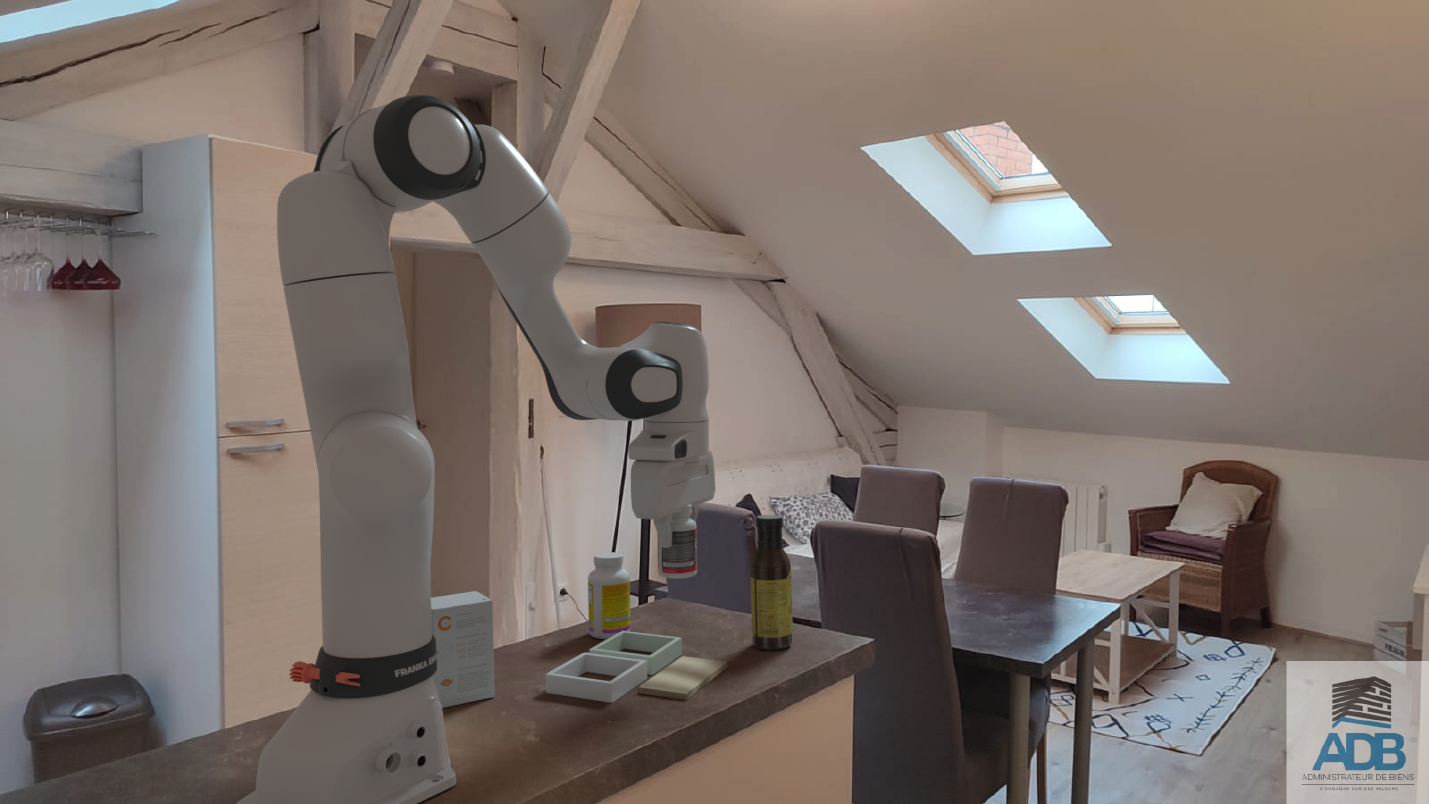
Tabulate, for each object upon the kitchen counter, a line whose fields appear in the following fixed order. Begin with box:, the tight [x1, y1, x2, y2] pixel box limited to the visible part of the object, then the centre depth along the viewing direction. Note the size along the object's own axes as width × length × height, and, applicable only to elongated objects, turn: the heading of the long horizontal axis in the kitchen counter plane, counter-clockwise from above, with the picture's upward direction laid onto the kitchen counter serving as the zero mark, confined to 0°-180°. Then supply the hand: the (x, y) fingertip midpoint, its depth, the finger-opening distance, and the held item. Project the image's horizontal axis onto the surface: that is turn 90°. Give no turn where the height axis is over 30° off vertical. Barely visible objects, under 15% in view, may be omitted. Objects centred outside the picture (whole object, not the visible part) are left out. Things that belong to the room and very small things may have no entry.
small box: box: [431, 590, 496, 709], centre depth 127 cm, size 8×6×13 cm
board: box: [638, 655, 728, 701], centre depth 133 cm, size 14×7×1 cm, turn 157°
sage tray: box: [588, 631, 683, 676], centre depth 141 cm, size 10×10×2 cm
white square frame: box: [545, 652, 648, 704], centre depth 131 cm, size 10×10×2 cm
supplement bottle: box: [587, 551, 631, 640], centre depth 154 cm, size 7×7×13 cm
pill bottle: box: [656, 504, 698, 580], centre depth 133 cm, size 5×5×10 cm
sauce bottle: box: [750, 514, 794, 651], centre depth 148 cm, size 6×6×20 cm
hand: (676, 542), depth 133 cm, fingers closed on pill bottle, 5 cm apart
